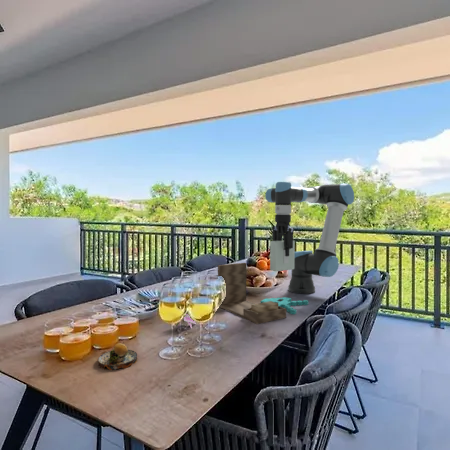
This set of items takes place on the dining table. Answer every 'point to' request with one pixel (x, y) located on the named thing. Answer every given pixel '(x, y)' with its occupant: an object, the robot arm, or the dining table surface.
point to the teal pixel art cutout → (287, 303)
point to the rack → (243, 295)
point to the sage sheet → (280, 256)
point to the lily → (188, 320)
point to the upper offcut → (264, 307)
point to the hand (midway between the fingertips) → (282, 262)
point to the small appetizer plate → (117, 358)
